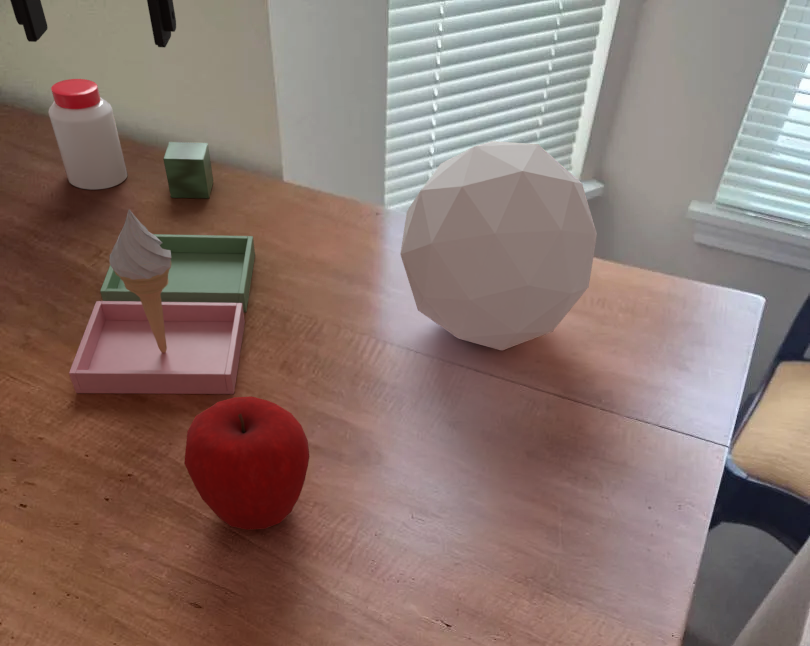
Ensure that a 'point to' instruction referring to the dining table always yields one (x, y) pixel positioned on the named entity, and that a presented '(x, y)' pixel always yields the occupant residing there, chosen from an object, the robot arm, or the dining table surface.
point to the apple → (247, 461)
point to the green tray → (198, 270)
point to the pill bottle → (86, 135)
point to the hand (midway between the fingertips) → (101, 38)
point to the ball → (499, 244)
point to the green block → (188, 170)
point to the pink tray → (143, 361)
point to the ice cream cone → (143, 270)
